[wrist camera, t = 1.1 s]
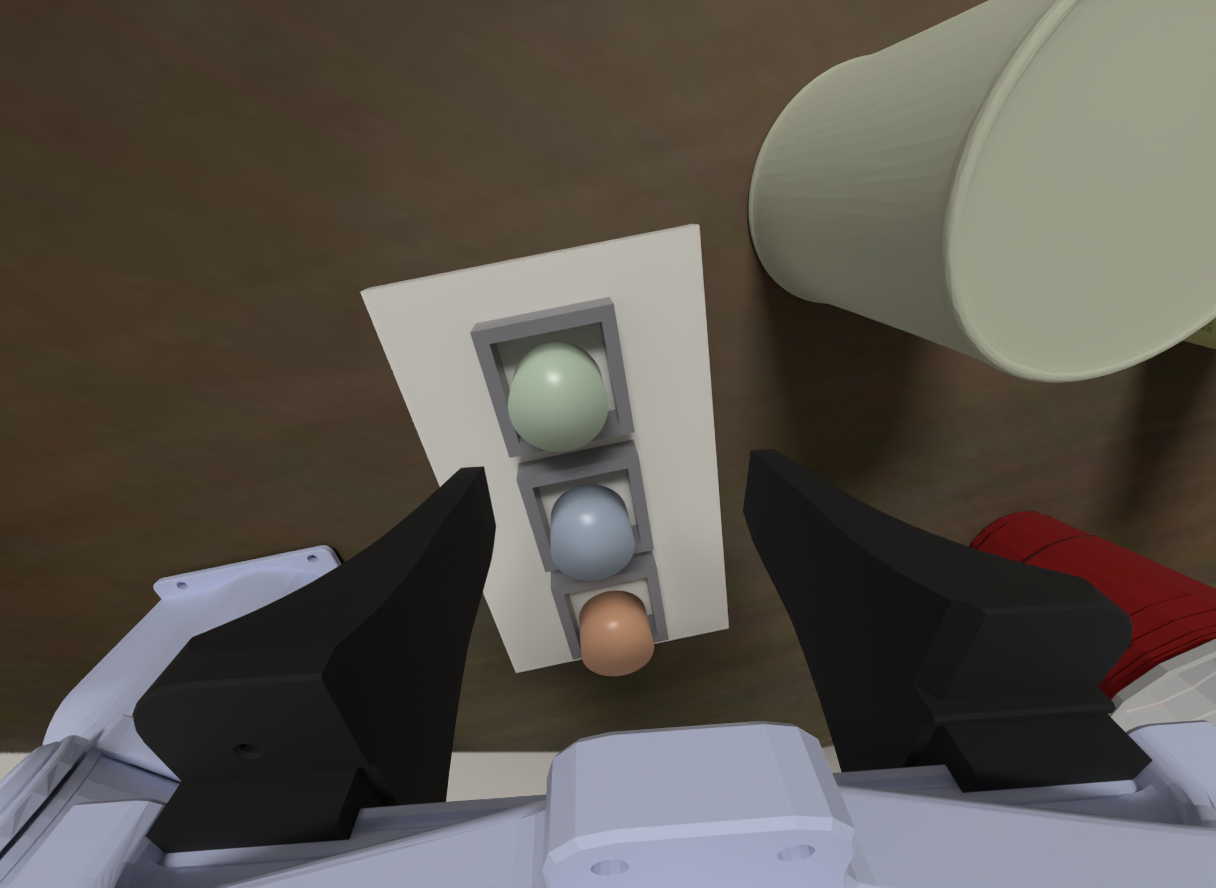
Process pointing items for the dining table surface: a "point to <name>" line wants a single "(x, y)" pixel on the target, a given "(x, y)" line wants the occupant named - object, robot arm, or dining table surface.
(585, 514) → the slate button
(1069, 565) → the plastic cup
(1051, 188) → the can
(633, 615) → the peach button
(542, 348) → the sage button
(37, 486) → the dining table surface
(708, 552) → the console
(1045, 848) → the robot arm
